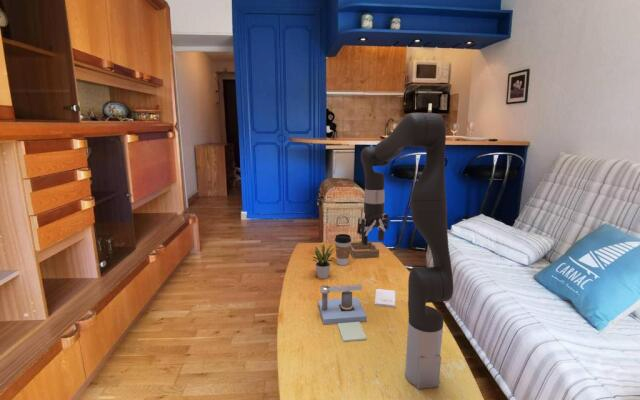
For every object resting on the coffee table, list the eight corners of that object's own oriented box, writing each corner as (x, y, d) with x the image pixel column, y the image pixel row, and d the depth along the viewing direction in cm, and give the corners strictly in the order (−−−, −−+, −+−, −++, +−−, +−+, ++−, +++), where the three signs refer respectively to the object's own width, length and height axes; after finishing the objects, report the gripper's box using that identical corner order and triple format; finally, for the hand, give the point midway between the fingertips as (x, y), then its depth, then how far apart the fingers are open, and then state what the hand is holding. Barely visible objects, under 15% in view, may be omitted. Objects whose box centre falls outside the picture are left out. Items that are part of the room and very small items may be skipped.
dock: (366, 321, 128) (367, 299, 126) (323, 324, 126) (323, 302, 124) (357, 302, 142) (357, 282, 140) (318, 304, 140) (318, 284, 138)
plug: (353, 315, 132) (354, 295, 131) (341, 315, 132) (342, 296, 130) (351, 308, 137) (351, 289, 135) (339, 309, 136) (339, 290, 134)
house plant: (343, 271, 171) (343, 239, 167) (337, 284, 157) (338, 249, 154) (315, 268, 174) (314, 237, 170) (307, 280, 161) (306, 247, 157)
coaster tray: (378, 257, 188) (379, 250, 188) (353, 258, 187) (353, 251, 186) (371, 248, 202) (371, 241, 201) (347, 249, 200) (348, 242, 199)
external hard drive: (395, 294, 150) (395, 308, 138) (375, 292, 151) (374, 306, 139) (395, 290, 149) (395, 305, 137) (375, 288, 151) (374, 302, 139)
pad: (366, 339, 117) (366, 338, 117) (343, 341, 116) (343, 340, 116) (359, 323, 127) (359, 321, 127) (337, 324, 126) (337, 323, 126)
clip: (362, 291, 131) (362, 287, 131) (320, 294, 129) (320, 290, 129) (360, 286, 135) (360, 283, 134) (319, 289, 133) (319, 285, 132)
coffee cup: (332, 265, 178) (332, 237, 175) (336, 259, 186) (337, 232, 183) (348, 267, 176) (349, 238, 172) (352, 261, 184) (352, 233, 180)
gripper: (367, 205, 122) (366, 249, 125) (394, 200, 131) (393, 241, 134) (353, 201, 128) (352, 243, 131) (380, 197, 137) (378, 237, 140)
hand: (372, 242), depth 133 cm, fingers open, 8 cm apart
